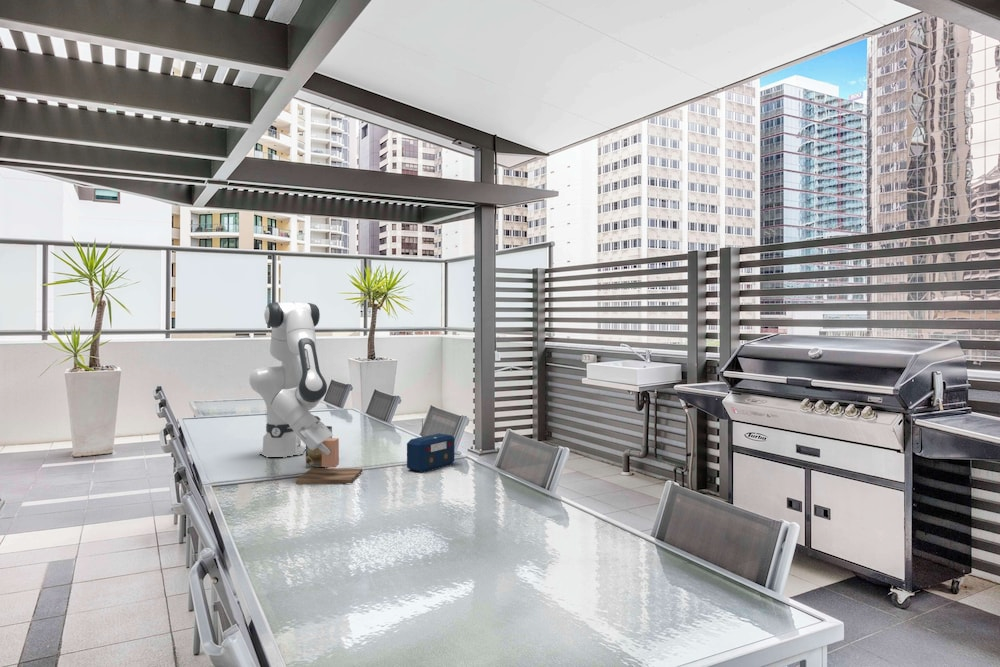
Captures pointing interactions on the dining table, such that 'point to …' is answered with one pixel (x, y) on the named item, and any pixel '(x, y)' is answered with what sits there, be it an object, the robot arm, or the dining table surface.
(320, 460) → the coffee box
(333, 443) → the terracotta block
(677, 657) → the dining table surface
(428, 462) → the radio
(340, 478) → the walnut board
